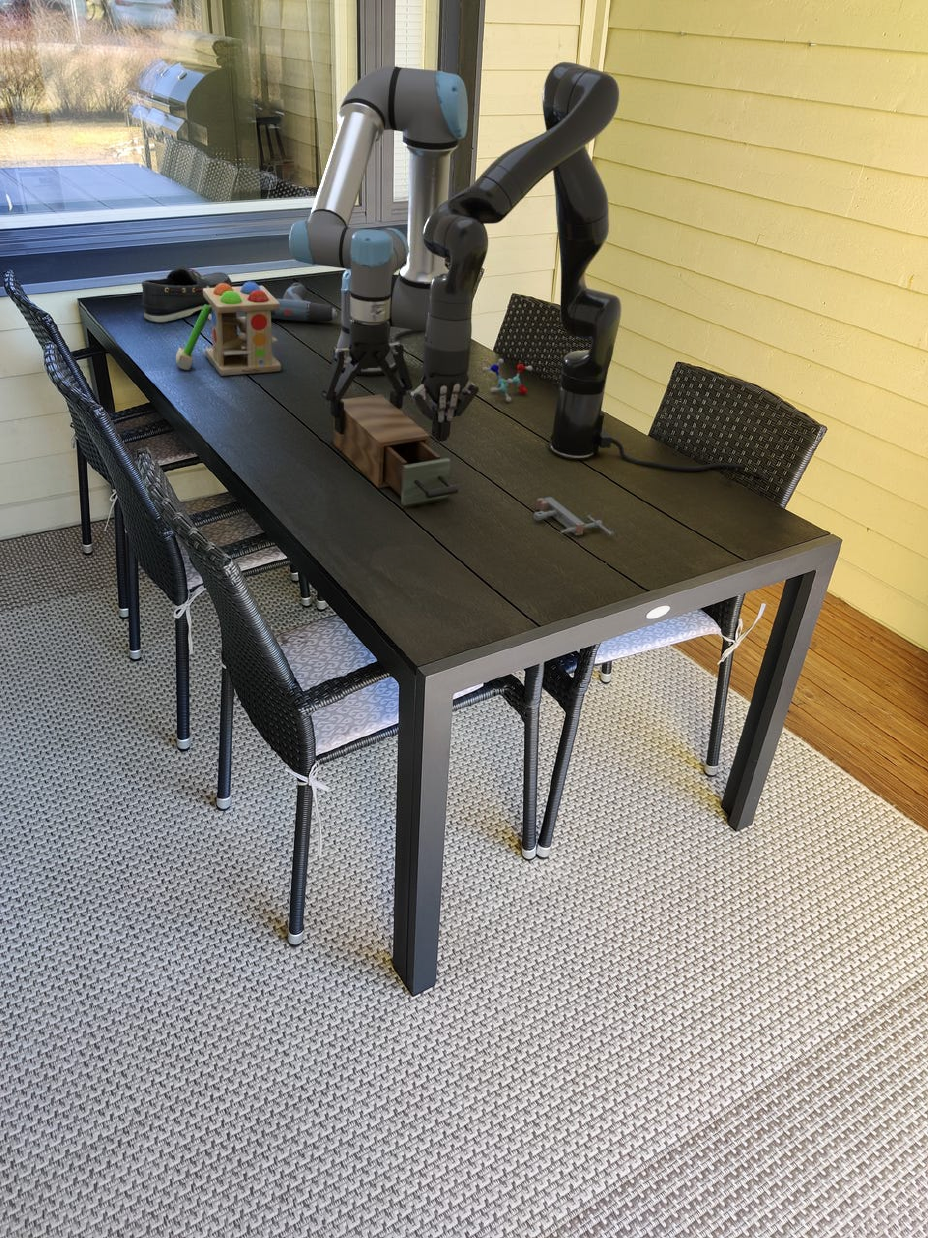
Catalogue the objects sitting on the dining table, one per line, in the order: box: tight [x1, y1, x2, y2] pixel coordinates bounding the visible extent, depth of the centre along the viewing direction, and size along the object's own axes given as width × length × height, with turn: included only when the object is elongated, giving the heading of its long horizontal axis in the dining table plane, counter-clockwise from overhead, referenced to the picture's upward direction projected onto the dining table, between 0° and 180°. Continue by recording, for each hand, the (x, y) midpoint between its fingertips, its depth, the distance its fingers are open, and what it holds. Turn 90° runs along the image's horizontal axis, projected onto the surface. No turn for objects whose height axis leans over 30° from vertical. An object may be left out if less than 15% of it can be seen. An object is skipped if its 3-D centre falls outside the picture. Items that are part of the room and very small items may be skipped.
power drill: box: [271, 282, 338, 322], centre depth 265 cm, size 5×19×20 cm
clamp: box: [533, 496, 615, 537], centre depth 178 cm, size 15×2×10 cm
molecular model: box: [482, 358, 533, 403], centre depth 227 cm, size 12×10×10 cm
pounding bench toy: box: [174, 281, 282, 377], centre depth 225 cm, size 23×14×18 cm, turn 116°
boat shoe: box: [141, 266, 234, 323], centre depth 261 cm, size 13×33×10 cm, turn 147°
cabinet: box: [332, 394, 431, 489], centre depth 192 cm, size 21×10×9 cm, turn 30°
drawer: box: [383, 440, 459, 506], centre depth 183 cm, size 26×9×7 cm, turn 30°
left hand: (366, 427), depth 196 cm, fingers open, 11 cm apart
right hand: (440, 439), depth 170 cm, fingers closed
